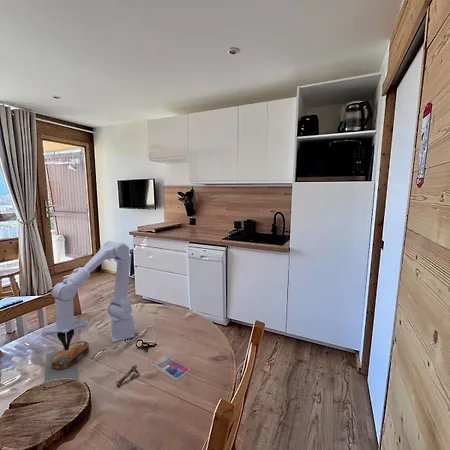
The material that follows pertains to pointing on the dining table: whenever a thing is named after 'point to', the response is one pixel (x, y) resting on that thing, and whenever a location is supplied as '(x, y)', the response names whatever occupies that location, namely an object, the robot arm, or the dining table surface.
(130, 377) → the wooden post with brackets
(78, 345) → the tin
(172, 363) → the smartphone
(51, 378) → the mat
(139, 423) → the dining table surface
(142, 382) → the dining table surface
